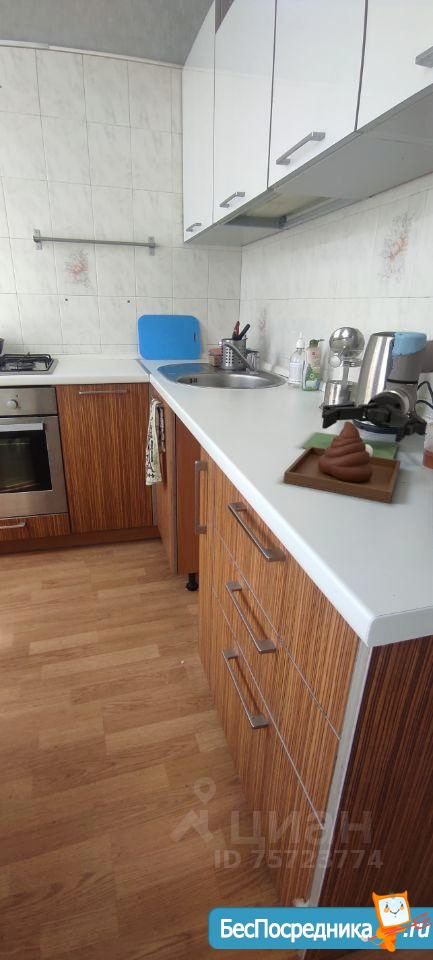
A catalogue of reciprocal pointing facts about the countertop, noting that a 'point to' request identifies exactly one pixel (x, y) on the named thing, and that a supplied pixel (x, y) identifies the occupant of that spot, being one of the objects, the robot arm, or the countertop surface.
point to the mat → (378, 447)
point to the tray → (373, 488)
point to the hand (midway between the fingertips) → (360, 427)
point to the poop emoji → (347, 456)
